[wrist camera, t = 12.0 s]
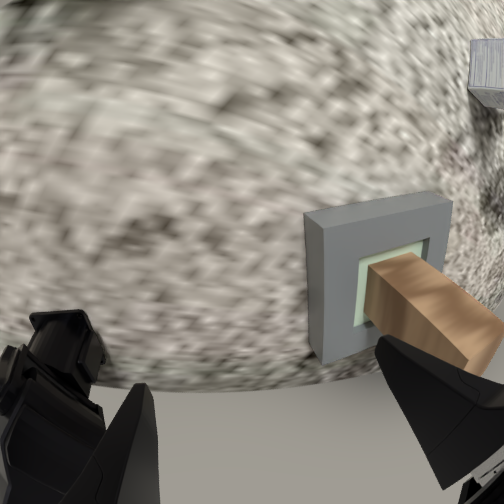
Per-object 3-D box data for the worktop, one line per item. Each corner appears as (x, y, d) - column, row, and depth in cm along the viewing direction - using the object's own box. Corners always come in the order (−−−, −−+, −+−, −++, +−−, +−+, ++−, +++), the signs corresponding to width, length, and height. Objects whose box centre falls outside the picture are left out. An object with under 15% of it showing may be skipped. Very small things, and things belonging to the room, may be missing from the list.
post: (363, 311, 24) (441, 406, 13) (367, 264, 22) (468, 360, 11) (403, 296, 25) (482, 374, 14) (411, 251, 22) (508, 326, 12)
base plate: (309, 342, 28) (322, 365, 25) (303, 212, 21) (323, 228, 18) (412, 303, 30) (429, 320, 26) (428, 190, 23) (453, 201, 20)
